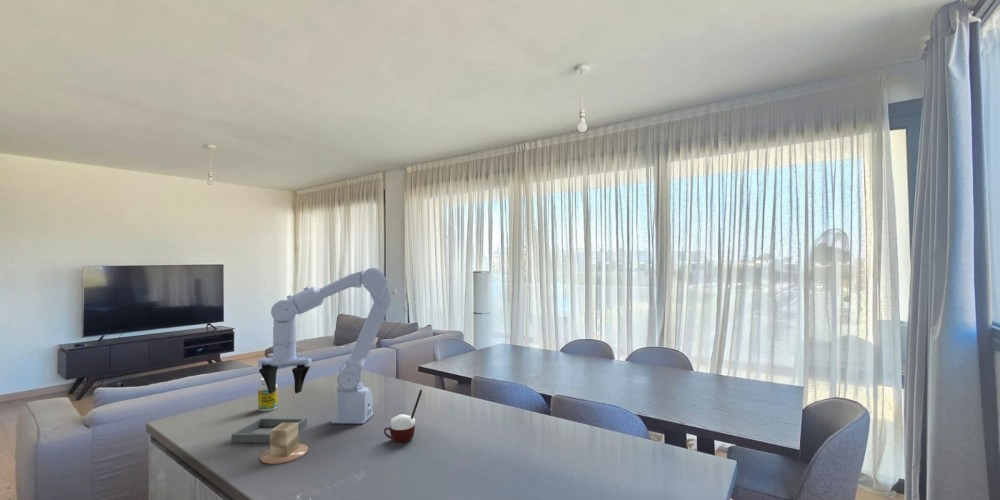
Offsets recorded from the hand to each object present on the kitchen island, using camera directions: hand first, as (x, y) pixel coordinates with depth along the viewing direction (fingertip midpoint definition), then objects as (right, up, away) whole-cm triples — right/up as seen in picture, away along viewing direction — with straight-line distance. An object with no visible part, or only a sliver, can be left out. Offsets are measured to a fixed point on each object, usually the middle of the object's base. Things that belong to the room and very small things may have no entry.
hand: (285, 392), depth 120 cm
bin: (-1, -9, -5) cm, 11 cm away
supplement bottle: (-13, -10, +15) cm, 22 cm away
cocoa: (+35, -9, -11) cm, 38 cm away
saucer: (+9, -9, -18) cm, 22 cm away
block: (+9, -8, -18) cm, 22 cm away
